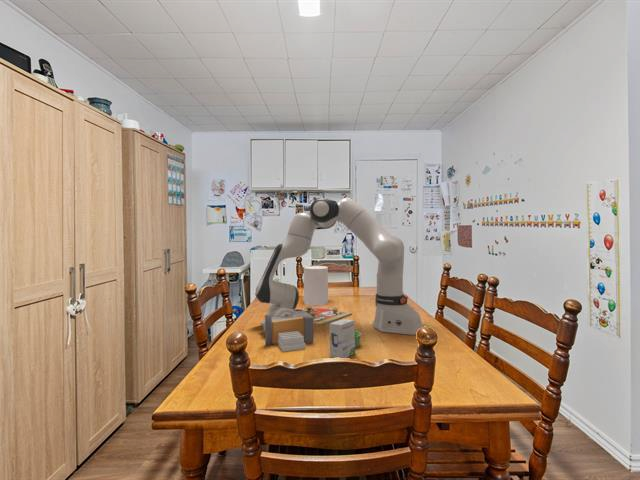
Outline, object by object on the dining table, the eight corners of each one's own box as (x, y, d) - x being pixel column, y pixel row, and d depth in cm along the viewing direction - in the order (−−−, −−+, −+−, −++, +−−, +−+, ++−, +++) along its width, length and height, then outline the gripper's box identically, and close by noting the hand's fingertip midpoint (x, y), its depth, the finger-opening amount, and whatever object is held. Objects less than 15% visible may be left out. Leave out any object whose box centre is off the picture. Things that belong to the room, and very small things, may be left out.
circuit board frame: (306, 334, 151) (306, 305, 150) (323, 350, 132) (323, 317, 131) (256, 340, 144) (256, 309, 143) (267, 358, 125) (267, 323, 125)
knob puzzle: (318, 328, 161) (318, 318, 161) (269, 318, 179) (269, 309, 178) (354, 315, 184) (354, 306, 184) (308, 307, 202) (307, 298, 202)
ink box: (341, 361, 122) (341, 325, 122) (328, 357, 126) (328, 322, 125) (356, 353, 129) (355, 320, 128) (343, 350, 132) (343, 317, 132)
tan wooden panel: (273, 344, 135) (273, 322, 135) (271, 343, 137) (271, 321, 136) (308, 337, 143) (308, 317, 142) (306, 336, 144) (306, 316, 144)
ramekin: (355, 350, 132) (354, 338, 132) (332, 346, 137) (332, 335, 136) (364, 343, 140) (364, 331, 140) (343, 339, 144) (343, 328, 144)
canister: (322, 299, 218) (322, 265, 217) (331, 304, 205) (331, 268, 204) (300, 301, 213) (300, 266, 212) (308, 306, 201) (308, 269, 200)
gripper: (259, 314, 151) (266, 323, 138) (307, 309, 158) (318, 317, 145) (259, 329, 151) (266, 339, 138) (307, 324, 158) (318, 333, 145)
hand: (293, 328), depth 141 cm, fingers closed
